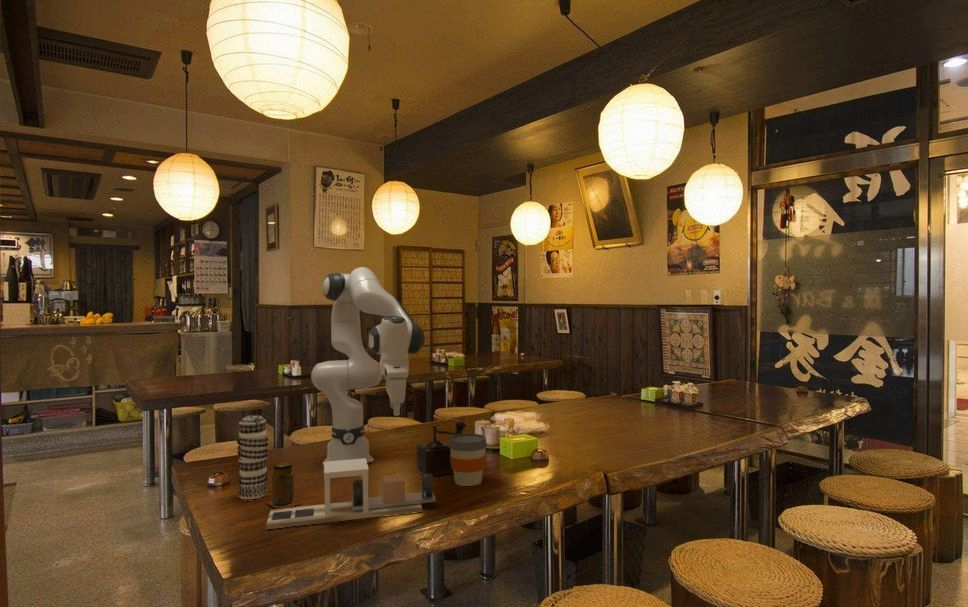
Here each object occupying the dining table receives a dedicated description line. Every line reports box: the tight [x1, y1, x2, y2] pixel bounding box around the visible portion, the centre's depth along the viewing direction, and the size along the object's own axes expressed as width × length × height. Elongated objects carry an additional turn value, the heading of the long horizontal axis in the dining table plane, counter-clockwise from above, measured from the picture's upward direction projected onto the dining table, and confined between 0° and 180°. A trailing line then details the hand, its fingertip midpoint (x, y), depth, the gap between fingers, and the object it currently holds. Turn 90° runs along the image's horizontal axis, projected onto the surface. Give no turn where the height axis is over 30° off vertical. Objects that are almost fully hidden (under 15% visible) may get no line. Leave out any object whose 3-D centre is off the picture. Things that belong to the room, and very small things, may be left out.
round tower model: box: [236, 414, 269, 500], centre depth 175 cm, size 9×9×25 cm
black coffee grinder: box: [416, 420, 467, 477], centre depth 198 cm, size 16×11×18 cm
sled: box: [350, 474, 437, 511], centre depth 163 cm, size 7×24×7 cm, turn 105°
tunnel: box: [323, 458, 370, 518], centre depth 159 cm, size 11×12×12 cm
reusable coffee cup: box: [448, 433, 487, 486], centre depth 185 cm, size 12×13×15 cm
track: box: [265, 501, 423, 531], centre depth 159 cm, size 11×42×2 cm, turn 105°
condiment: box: [271, 462, 295, 506], centre depth 167 cm, size 7×8×12 cm
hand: (394, 411), depth 175 cm, fingers open, 8 cm apart
